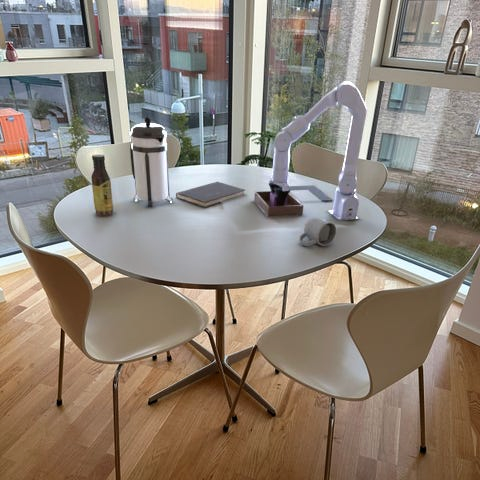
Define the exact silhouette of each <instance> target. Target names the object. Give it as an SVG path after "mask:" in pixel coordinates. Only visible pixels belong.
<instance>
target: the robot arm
mask: <svg viewBox="0 0 480 480" xmlns="http://www.w3.org/2000/svg"><path fill="white" fill-rule="evenodd" d="M338 103H339V105H341V106H343V107H344V108H346V109H347V110H348V112H349V113H350V115H351V119H350V126H349V131H348V137H347V144H346V149H345V155H344V161H343V164H342V170H341V172H339V175H338V187H336V189H335V193H334V200H333V206H332V207H333V208H332V210H328V212H329V213H330V214H331V215H332V216H334V217H335V218H336V219H337V220H344V221H351V220H352V221H353V220H359V217H358V212H359V211H358V210H359V203H360V201H359V198H358V197H357V187H358V181H357V170H358V162H359V157H360V152H361V148H362V147H361V146H362V141H363V136H364V130H365V125H366V119H367V115H368V108H367V106H366V104H365V101H364V98H363V97H362V95H361V92H360V90H359V88H358V87H357V86H356V85H355V84H354V83H353V82H352V81H349V80H346V81H342V82H341V83H340V84H339V85H338V86H337V87H334V88H333V89H331V90H330V91H329V92H328V93H325V95H324V96H323V97H322V98H321V99H320V100H319V101H318V102H317V103H315V105H313V106H312V107H311V108H310V110H308V111H307V112H306V113H305V114H304V115H300V114H299V115H297V116H293V117H292V119H291V120H292V121H291V122H290V123H288V125H286V126H285V127H282V128H281V131H279V132H278V133H277V134H276V136H275V137H274V140H273V147H274V151H273V152H274V153H273V161H272V174H271V175H270V179H268V186H269V189H270V191H271V193H276V198H277V206H284V203H285V200H286V197H287V195H288V194H289V193H290V192H291V191H290V189H289V186H290V185H289V172H290V171H289V170H290V159H291V154H290V153H291V152H290V151H291V150H290V149H291V145H292V143H296V141H298V140H299V139H300V138H301V137H302V136H303V135H304V134H305V133H306V132H308V131H309V130H310V126H311V123H312V122H313V121H314V120H316V119H317V118H318V117H319V116H320V115H322V114H323V113H324V112H325V111H326V110H327V109H328V108H332V107H338Z"/></svg>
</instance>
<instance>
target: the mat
mask: <svg viewBox="0 0 480 480" xmlns="http://www.w3.org/2000/svg"><path fill="white" fill-rule="evenodd" d="M289 189H290V192H291V191H309V192H310V193H311V194H312V195H313V196H315V197H316V199H318V200H319V201H321V203H322V202H332V201H333V199H332V198H331V197H329V196H328V195H327V194H325V193H324V192H322V191H321V190H320V189H319V188H318V187H316V186H315V185H292V186H291V185H289Z"/></svg>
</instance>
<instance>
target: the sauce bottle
mask: <svg viewBox="0 0 480 480" xmlns="http://www.w3.org/2000/svg"><path fill="white" fill-rule="evenodd" d="M105 157H106V156H105V155H104V154H92V156H91V159H92V163H93V164H92V165H93V171H92V174H91V188H92V198H93V204H94V205H93V206H94V210H95V214H96V216H99V217H100V216H101V217H106V216H111V215H113V214H114V204H113V203H114V202H113V192H112V182H111V178H110V176H109V174H108V171H107V169H106V162H105V161H106V158H105Z"/></svg>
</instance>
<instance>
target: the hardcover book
mask: <svg viewBox="0 0 480 480" xmlns="http://www.w3.org/2000/svg"><path fill="white" fill-rule="evenodd" d="M245 191H246V189H244V188H241V187H238V186H234V185H230V184H227V183H224V182H220V181H215V182H211V183H207V184H203V185H200V186H199V185H198V186H196V187H193V188H189V189H185V190H182V191H178V192H175V198H176V199H178V200H179V201H183V202H186V203H189V204H192V205H195V206H198V207H201V208H204V209H207V208H209V207H213V206H216V205H219V204H221V202H222V201H226V200H229V199H233V198H235V197H239V196H242V195H245Z"/></svg>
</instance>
